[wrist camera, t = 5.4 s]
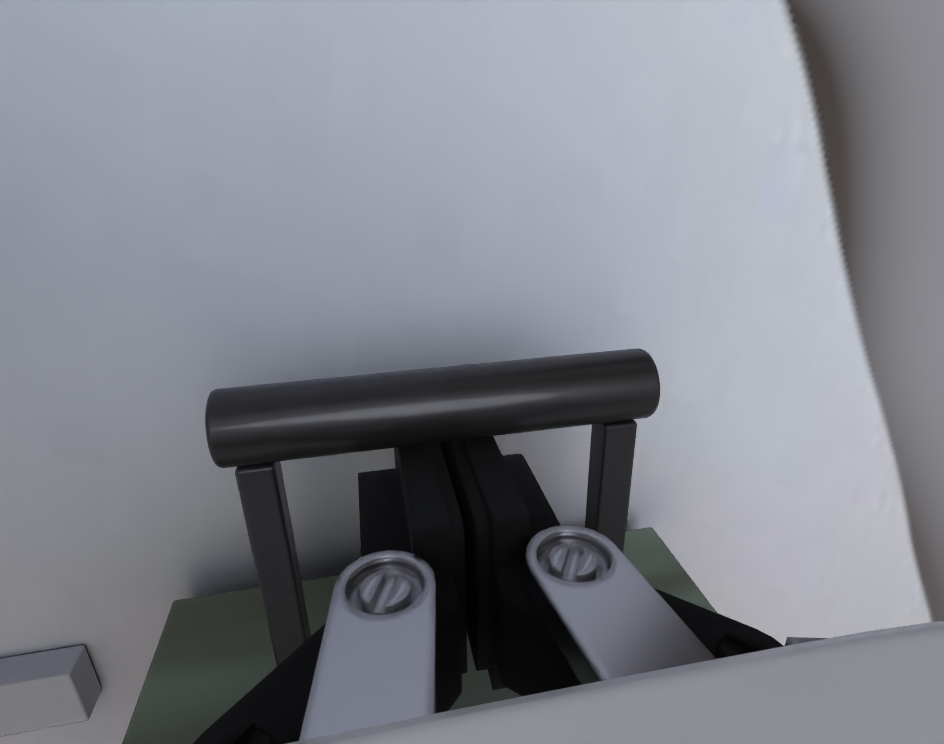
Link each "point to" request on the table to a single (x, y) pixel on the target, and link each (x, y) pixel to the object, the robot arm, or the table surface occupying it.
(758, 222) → the table surface
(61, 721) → the usb stick
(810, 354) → the table surface
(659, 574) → the handled lid slab
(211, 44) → the table surface
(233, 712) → the robot arm
